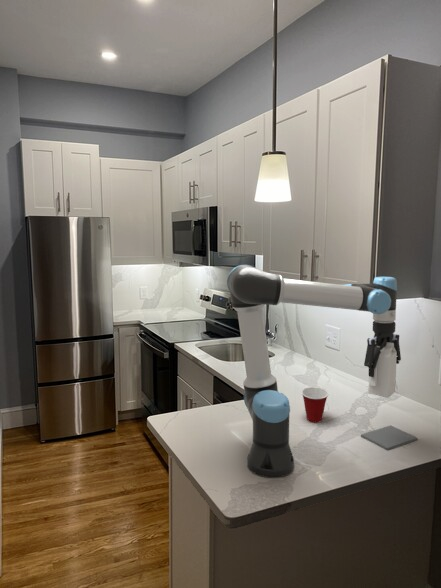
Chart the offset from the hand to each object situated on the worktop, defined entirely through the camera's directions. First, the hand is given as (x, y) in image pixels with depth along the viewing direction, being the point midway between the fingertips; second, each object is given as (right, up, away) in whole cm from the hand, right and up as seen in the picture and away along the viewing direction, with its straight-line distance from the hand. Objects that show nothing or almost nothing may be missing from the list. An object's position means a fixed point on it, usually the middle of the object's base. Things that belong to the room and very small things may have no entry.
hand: (382, 382), depth 160 cm
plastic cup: (-20, -19, +20) cm, 34 cm away
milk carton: (0, -4, +1) cm, 4 cm away
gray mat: (+4, -21, +4) cm, 22 cm away
